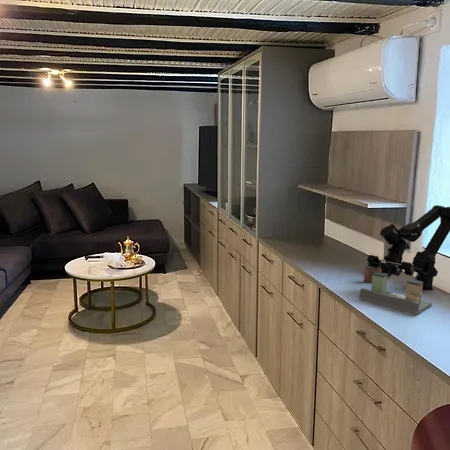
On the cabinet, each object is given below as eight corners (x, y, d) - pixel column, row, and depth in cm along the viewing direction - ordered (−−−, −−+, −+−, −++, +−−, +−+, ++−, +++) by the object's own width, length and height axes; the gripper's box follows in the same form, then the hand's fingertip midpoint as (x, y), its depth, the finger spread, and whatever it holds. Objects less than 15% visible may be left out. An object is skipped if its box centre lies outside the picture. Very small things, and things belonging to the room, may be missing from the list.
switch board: (376, 291, 198) (377, 281, 197) (431, 306, 183) (432, 295, 182) (359, 299, 187) (360, 289, 186) (416, 315, 172) (418, 303, 171)
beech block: (408, 300, 183) (411, 279, 181) (420, 303, 180) (423, 281, 178) (404, 303, 180) (406, 281, 178) (416, 306, 177) (419, 283, 175)
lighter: (365, 283, 210) (367, 261, 209) (361, 281, 213) (363, 260, 212) (381, 282, 212) (383, 261, 211) (377, 280, 216) (379, 259, 214)
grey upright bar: (388, 272, 231) (393, 222, 226) (392, 274, 226) (397, 224, 221) (381, 271, 231) (386, 222, 226) (384, 274, 226) (389, 224, 221)
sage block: (375, 292, 192) (377, 271, 191) (385, 294, 189) (388, 273, 187) (370, 294, 189) (372, 273, 188) (381, 297, 186) (383, 275, 184)
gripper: (422, 266, 195) (409, 297, 189) (380, 258, 208) (366, 286, 202) (417, 251, 188) (403, 282, 182) (373, 243, 201) (359, 272, 195)
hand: (382, 281), depth 191 cm, fingers closed
